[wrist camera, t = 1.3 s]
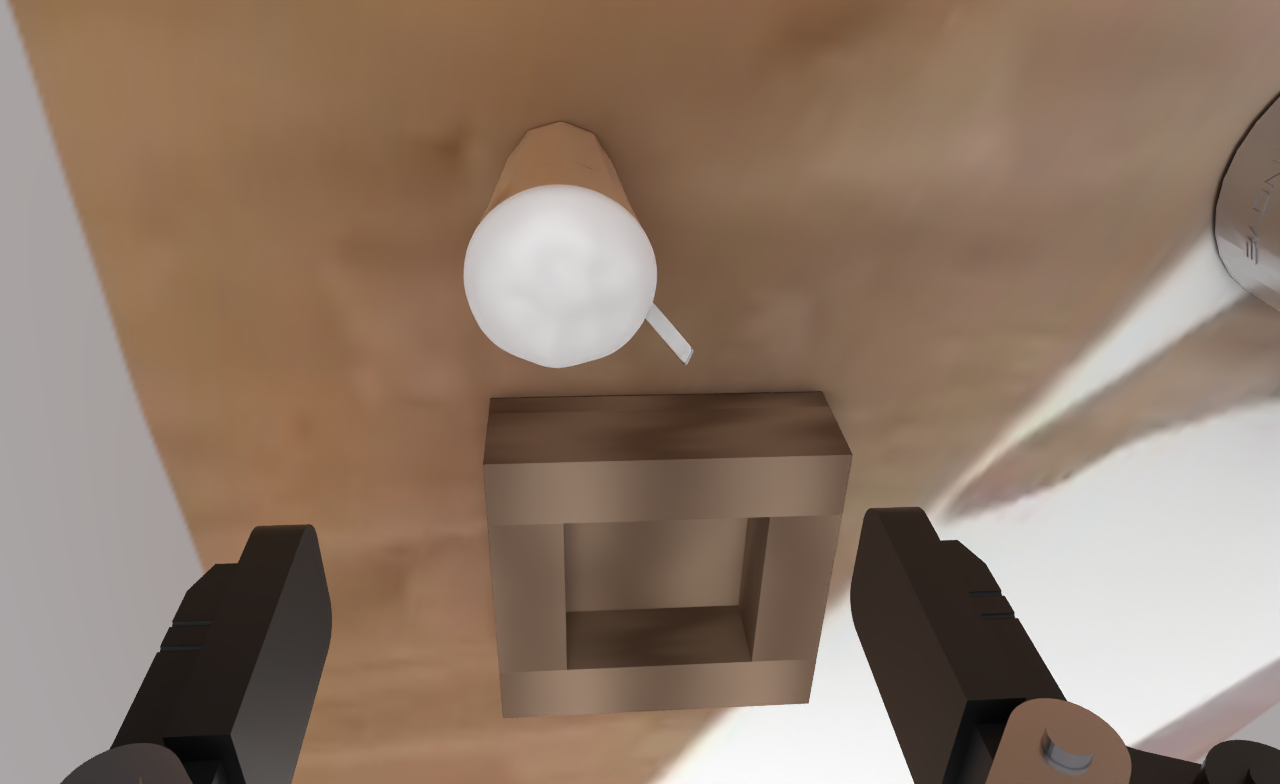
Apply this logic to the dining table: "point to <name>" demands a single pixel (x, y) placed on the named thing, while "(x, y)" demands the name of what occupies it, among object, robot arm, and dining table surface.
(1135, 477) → the dining table surface
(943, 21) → the dining table surface
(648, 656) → the socket block
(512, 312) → the milkshake
